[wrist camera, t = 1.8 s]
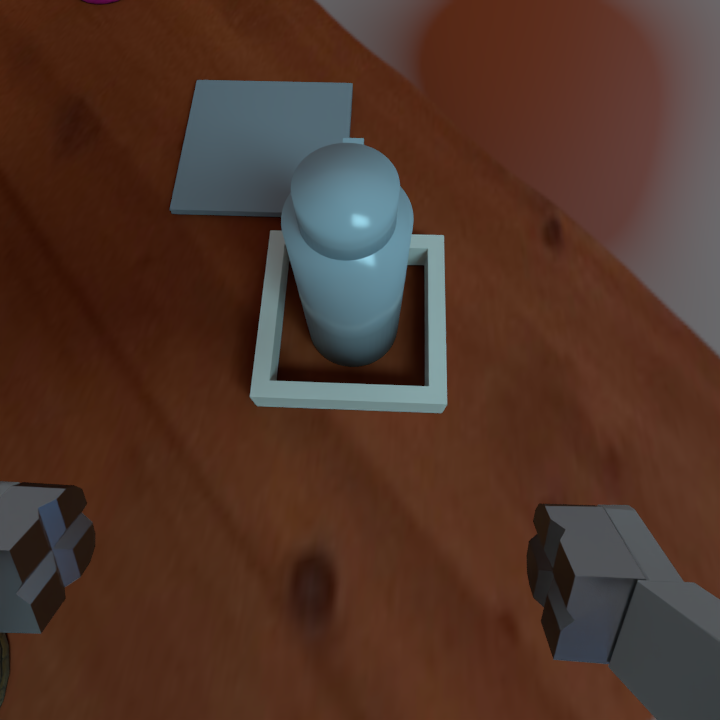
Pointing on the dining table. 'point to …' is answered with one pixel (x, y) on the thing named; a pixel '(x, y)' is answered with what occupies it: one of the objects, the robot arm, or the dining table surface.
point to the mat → (254, 143)
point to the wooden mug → (3, 665)
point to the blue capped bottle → (348, 249)
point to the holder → (346, 394)
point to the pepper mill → (100, 1)
